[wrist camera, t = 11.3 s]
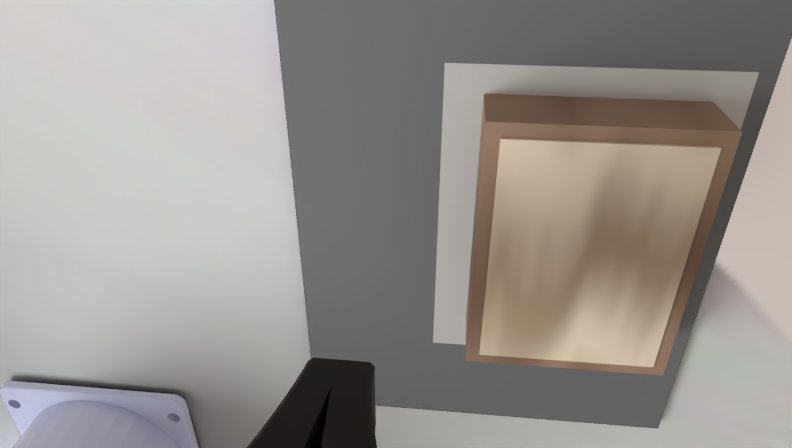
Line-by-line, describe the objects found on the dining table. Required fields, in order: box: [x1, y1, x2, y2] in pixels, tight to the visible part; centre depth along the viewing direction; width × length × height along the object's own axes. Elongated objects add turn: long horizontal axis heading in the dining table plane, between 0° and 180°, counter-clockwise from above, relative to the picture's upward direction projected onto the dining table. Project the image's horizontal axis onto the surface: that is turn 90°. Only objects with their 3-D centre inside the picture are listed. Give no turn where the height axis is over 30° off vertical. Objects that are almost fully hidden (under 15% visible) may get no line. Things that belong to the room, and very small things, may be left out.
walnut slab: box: [466, 94, 742, 375], centre depth 17 cm, size 8×2×6 cm
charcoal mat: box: [274, 0, 792, 428], centre depth 19 cm, size 16×13×1 cm
